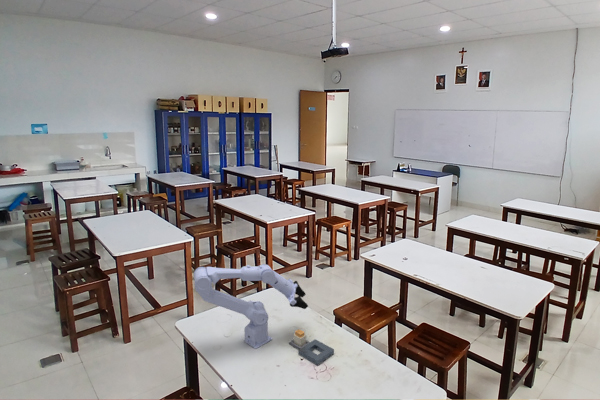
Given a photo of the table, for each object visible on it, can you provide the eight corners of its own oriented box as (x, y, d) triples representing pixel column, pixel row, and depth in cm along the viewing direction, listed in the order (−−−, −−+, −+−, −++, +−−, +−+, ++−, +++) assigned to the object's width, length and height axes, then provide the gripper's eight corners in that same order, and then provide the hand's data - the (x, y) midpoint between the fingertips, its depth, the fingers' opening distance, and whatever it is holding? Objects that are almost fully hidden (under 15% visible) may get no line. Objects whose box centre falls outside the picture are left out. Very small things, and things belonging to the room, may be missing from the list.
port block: (317, 365, 145) (317, 361, 145) (298, 354, 152) (298, 349, 152) (333, 353, 153) (334, 349, 152) (315, 343, 159) (315, 339, 159)
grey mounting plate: (300, 351, 154) (300, 348, 154) (289, 344, 159) (289, 341, 158) (310, 345, 158) (310, 342, 158) (298, 338, 163) (298, 335, 162)
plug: (300, 348, 156) (300, 335, 155) (293, 344, 159) (293, 331, 157) (305, 345, 158) (305, 332, 157) (298, 341, 161) (298, 328, 159)
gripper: (290, 289, 152) (314, 306, 157) (287, 268, 165) (309, 284, 170) (278, 301, 154) (302, 317, 159) (276, 279, 167) (298, 294, 172)
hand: (305, 301), depth 165 cm, fingers open, 7 cm apart
